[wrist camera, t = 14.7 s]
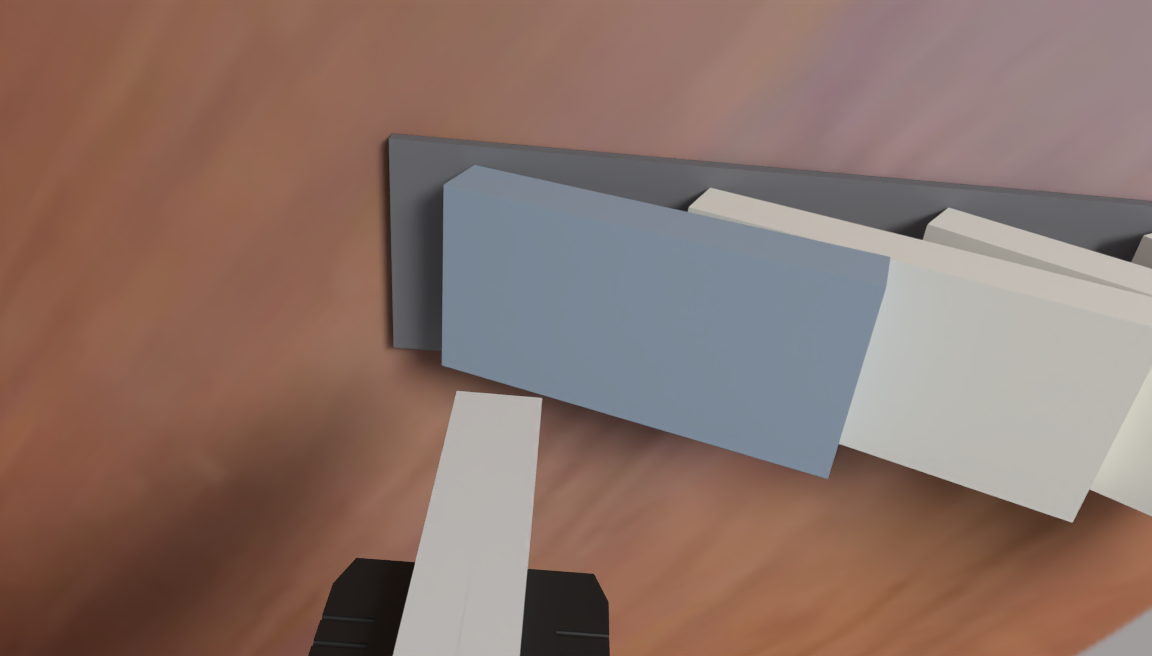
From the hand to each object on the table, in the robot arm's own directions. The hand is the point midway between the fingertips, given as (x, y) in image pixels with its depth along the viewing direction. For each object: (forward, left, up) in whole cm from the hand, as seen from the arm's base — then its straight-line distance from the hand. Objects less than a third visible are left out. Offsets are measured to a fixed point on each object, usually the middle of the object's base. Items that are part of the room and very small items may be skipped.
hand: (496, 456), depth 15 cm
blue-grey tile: (-1, +1, -7) cm, 8 cm away
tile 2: (+3, -2, -7) cm, 8 cm away
